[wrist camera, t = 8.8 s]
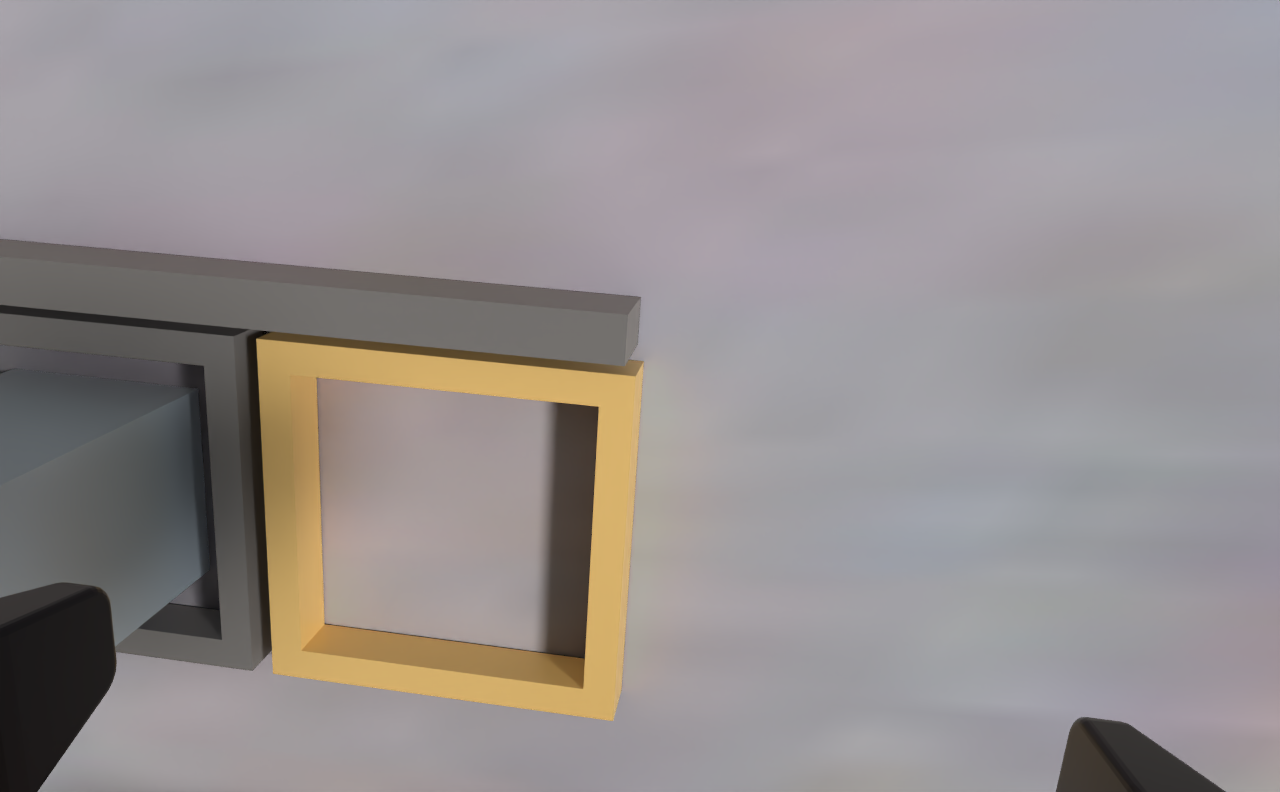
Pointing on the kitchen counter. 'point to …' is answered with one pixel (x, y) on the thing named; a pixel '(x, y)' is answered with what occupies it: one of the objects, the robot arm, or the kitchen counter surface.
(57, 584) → the robot arm
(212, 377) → the cubby shelf with drawer
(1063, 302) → the kitchen counter surface
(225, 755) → the kitchen counter surface
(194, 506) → the blue-grey box
